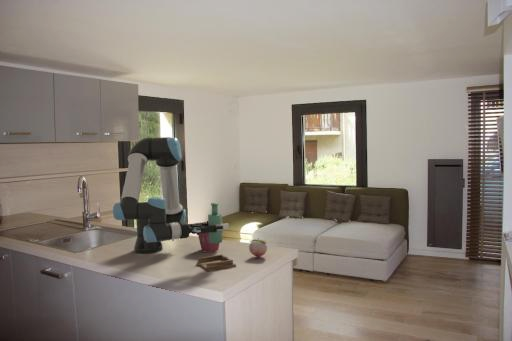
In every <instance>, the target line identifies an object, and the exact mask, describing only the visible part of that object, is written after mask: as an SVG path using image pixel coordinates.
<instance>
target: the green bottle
mask: <svg viewBox="0 0 512 341" xmlns="http://www.w3.org/2000/svg"><path fill="white" fill-rule="evenodd" d="M210 206H211V213H209V214H207V221H208V226H214V225H218V224H223V218H222V217H223V216H222V213H218V212H219V203H218V202H211V203H210ZM209 243H220V244H221V243H223V233H222V230H218V231H217V232H216V233H215V232H210V233H209Z"/></svg>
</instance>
